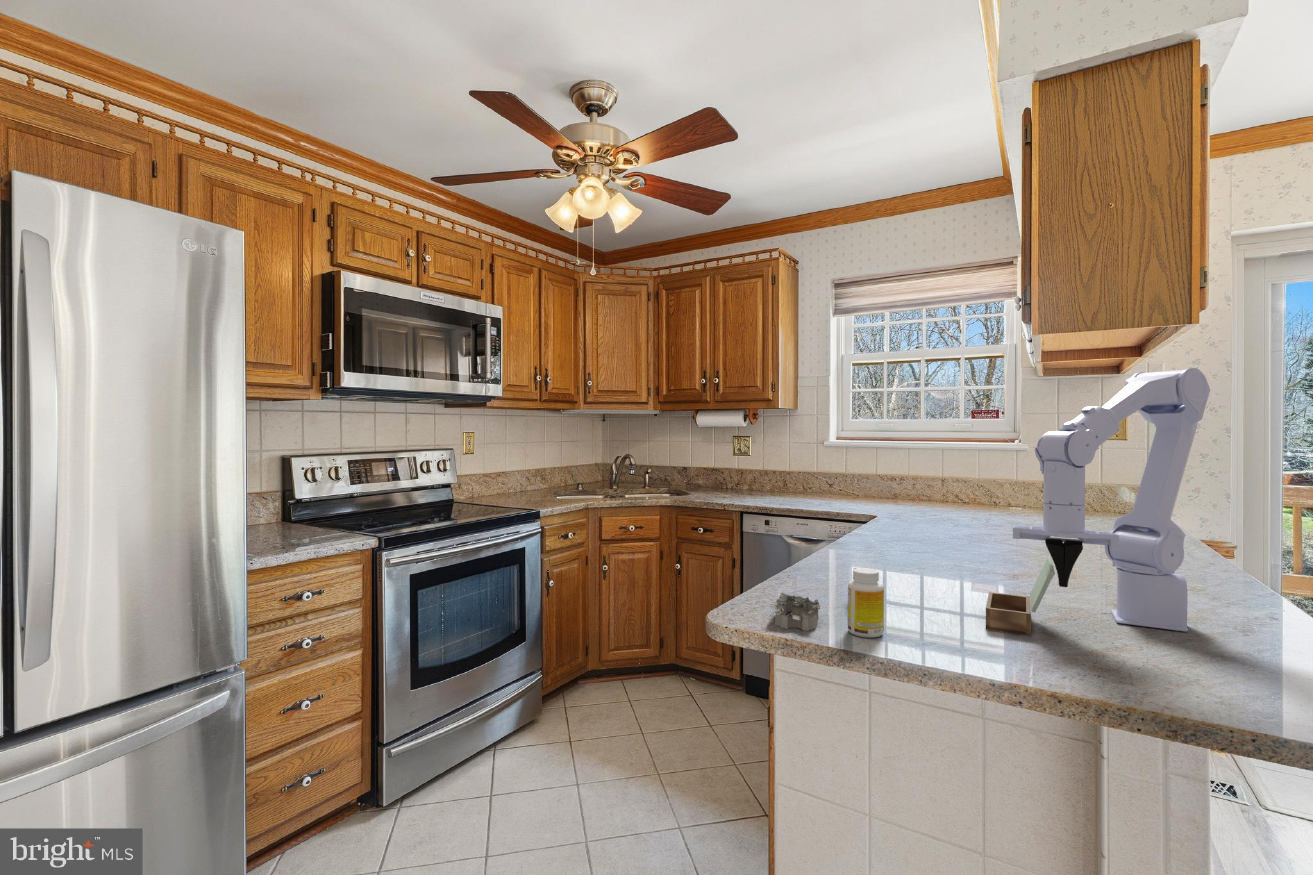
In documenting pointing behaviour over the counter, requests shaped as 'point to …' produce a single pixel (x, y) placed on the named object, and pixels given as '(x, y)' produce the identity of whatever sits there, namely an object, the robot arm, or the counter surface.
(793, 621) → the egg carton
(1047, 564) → the lid
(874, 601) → the supplement bottle
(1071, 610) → the counter surface
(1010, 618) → the box
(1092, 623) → the counter surface
